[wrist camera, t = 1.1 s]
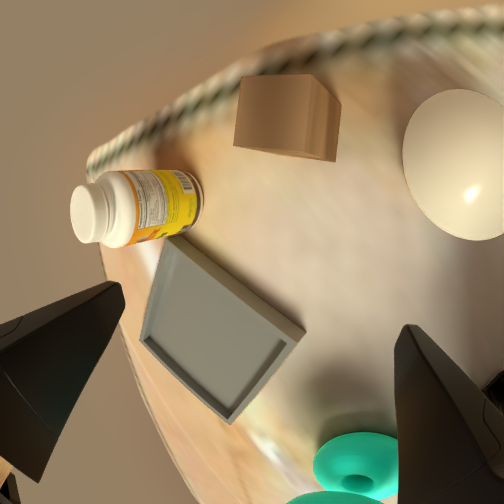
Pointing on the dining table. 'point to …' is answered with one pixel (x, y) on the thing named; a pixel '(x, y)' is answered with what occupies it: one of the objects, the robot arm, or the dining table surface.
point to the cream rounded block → (458, 163)
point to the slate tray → (213, 330)
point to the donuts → (355, 470)
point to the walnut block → (287, 116)
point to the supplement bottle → (135, 206)
